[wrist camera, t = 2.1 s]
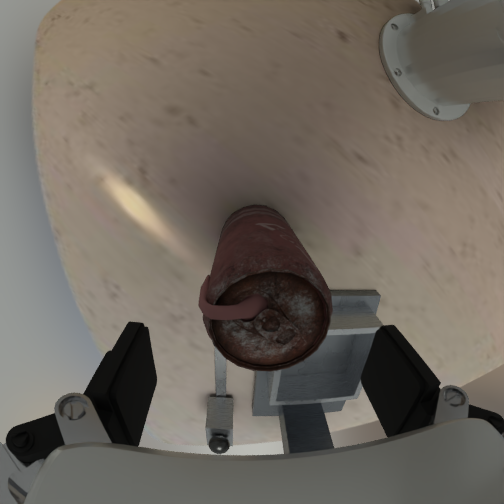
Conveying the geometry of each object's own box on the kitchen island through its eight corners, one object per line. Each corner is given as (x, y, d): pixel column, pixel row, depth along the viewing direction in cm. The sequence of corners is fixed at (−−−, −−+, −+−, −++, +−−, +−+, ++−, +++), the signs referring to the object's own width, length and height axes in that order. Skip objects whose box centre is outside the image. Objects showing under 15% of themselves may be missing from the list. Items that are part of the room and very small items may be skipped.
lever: (208, 396, 31) (203, 443, 24) (233, 397, 31) (232, 444, 24) (210, 415, 32) (206, 459, 25) (232, 416, 32) (232, 460, 25)
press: (214, 287, 26) (171, 592, 3) (376, 290, 27) (521, 488, 4) (217, 412, 33) (209, 586, 9) (337, 409, 33) (384, 562, 10)
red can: (222, 199, 24) (197, 254, 11) (294, 208, 24) (354, 270, 11) (215, 265, 26) (193, 371, 13) (283, 272, 26) (319, 378, 13)
